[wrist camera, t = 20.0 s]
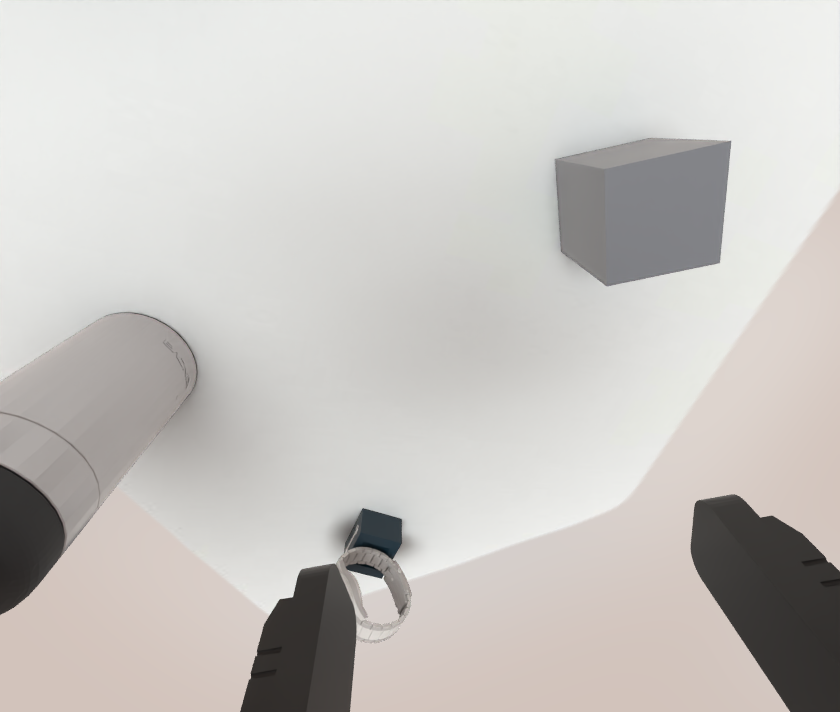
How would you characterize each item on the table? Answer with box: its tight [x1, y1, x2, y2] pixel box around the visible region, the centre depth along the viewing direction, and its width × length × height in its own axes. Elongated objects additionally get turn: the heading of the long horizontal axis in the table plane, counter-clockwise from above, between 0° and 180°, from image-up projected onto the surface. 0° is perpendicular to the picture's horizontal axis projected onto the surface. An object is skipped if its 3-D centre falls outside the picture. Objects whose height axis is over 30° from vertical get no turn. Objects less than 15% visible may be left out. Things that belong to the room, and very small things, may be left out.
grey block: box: [555, 138, 731, 286], centre depth 30 cm, size 7×7×9 cm
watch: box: [336, 508, 412, 643], centre depth 44 cm, size 6×8×11 cm
